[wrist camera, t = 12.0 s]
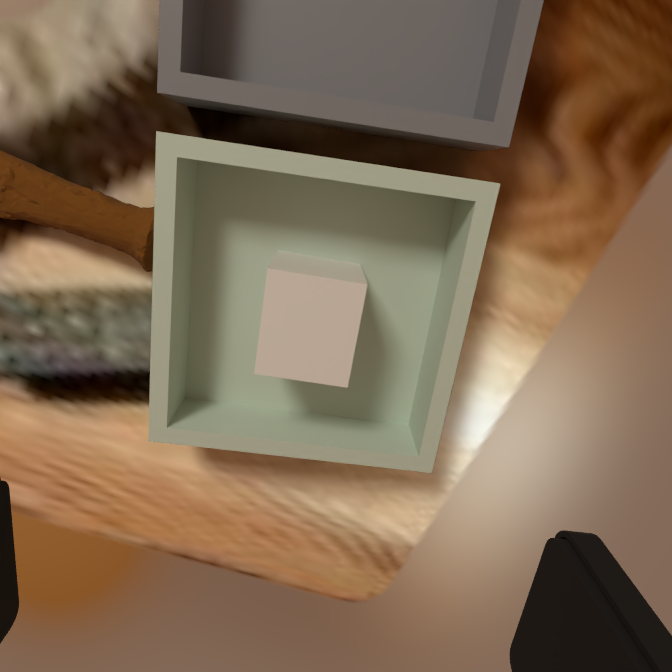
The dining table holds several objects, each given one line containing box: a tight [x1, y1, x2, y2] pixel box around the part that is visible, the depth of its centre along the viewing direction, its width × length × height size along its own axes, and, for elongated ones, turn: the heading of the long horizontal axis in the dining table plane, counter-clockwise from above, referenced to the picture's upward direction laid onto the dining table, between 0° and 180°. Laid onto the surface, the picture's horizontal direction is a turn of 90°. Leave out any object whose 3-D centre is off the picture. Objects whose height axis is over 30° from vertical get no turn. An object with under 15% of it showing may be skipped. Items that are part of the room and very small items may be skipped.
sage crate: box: [149, 131, 500, 473], centre depth 26 cm, size 15×15×4 cm
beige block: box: [254, 250, 368, 388], centre depth 25 cm, size 5×4×5 cm
